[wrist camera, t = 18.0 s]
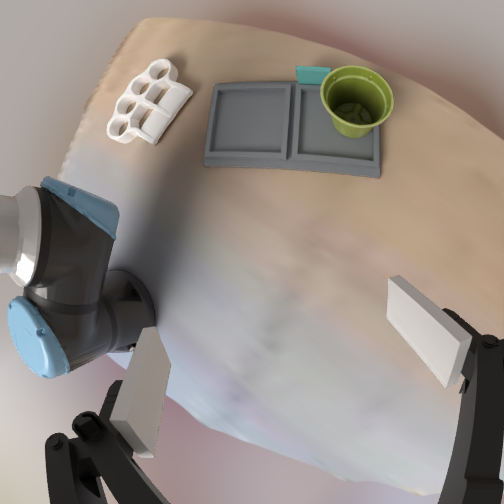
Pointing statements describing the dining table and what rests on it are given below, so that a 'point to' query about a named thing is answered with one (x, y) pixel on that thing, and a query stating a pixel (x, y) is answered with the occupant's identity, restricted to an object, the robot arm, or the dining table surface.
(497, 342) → the robot arm
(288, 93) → the tray
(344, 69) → the plant pot
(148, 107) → the knuckle duster
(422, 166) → the dining table surface
